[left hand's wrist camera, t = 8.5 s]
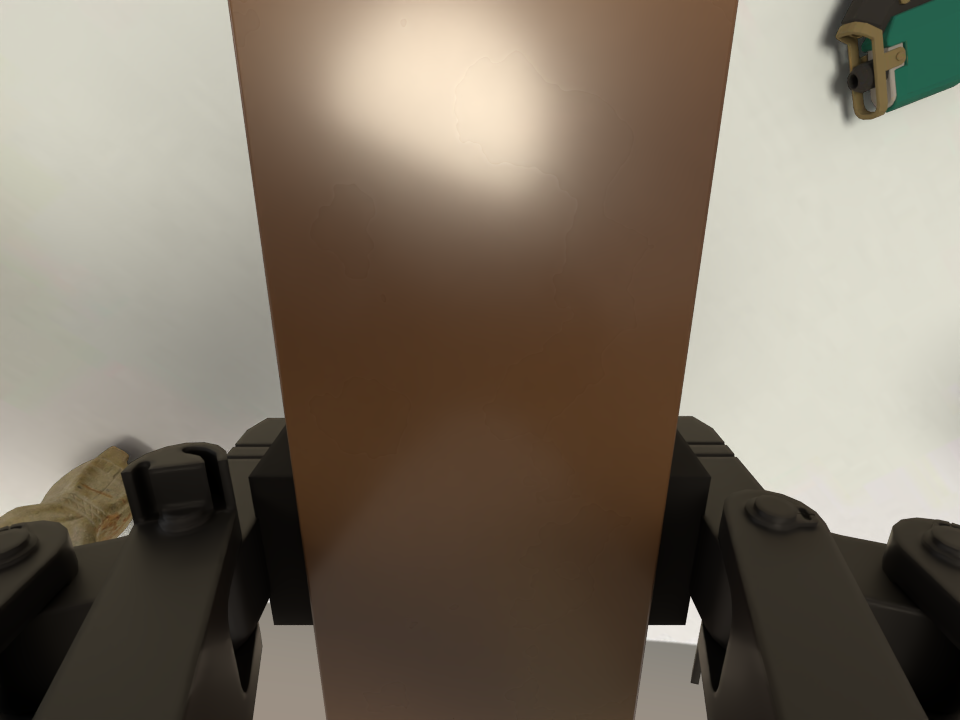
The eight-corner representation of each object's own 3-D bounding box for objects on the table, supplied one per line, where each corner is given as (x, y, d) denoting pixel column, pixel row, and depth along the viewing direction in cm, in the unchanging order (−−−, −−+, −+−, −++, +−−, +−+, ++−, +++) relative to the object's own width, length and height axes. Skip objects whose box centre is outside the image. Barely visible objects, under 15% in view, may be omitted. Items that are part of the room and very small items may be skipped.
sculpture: (53, 486, 37) (-208, 685, 23) (112, 422, 36) (-131, 594, 22) (125, 538, 39) (-79, 754, 25) (185, 478, 37) (2, 674, 23)
